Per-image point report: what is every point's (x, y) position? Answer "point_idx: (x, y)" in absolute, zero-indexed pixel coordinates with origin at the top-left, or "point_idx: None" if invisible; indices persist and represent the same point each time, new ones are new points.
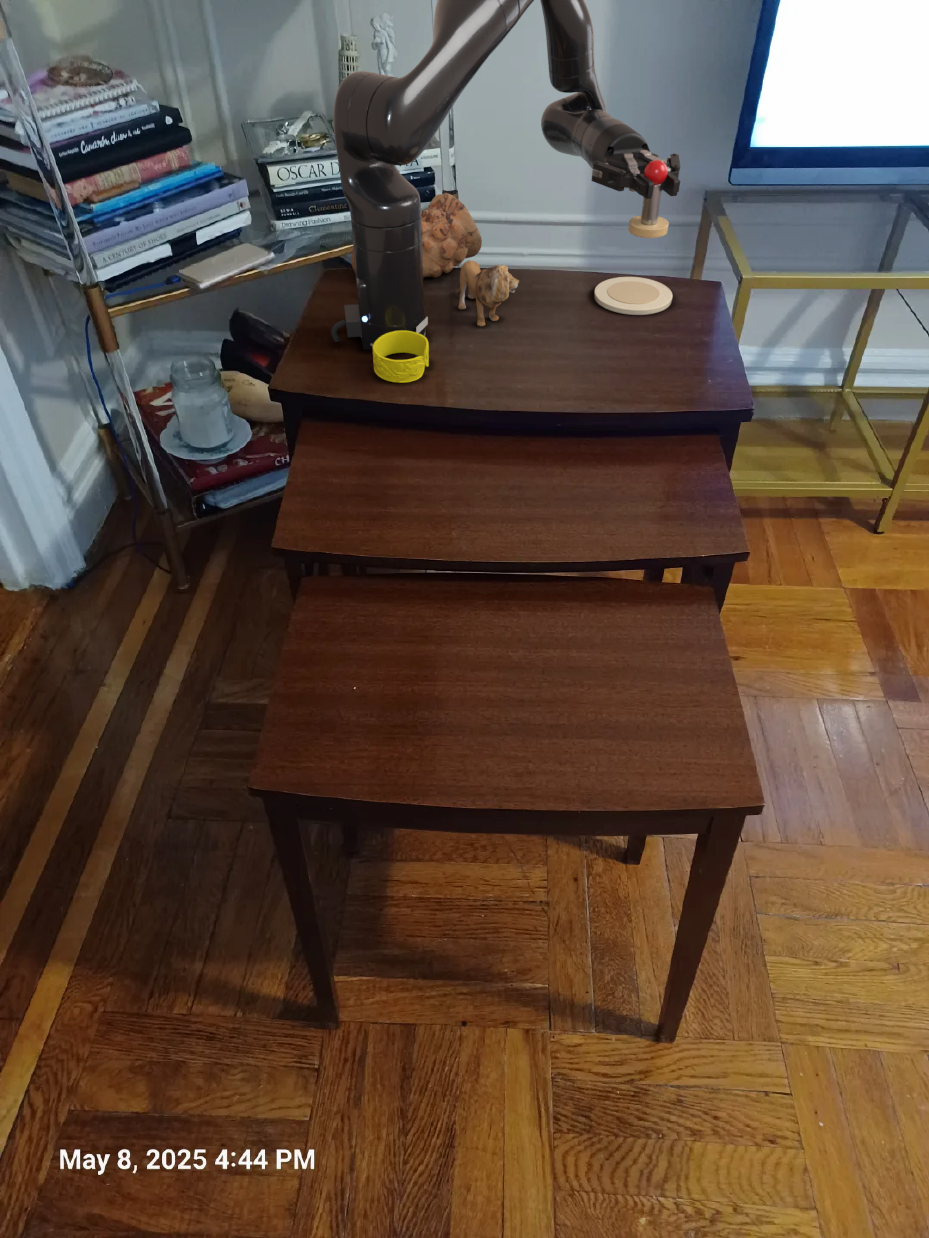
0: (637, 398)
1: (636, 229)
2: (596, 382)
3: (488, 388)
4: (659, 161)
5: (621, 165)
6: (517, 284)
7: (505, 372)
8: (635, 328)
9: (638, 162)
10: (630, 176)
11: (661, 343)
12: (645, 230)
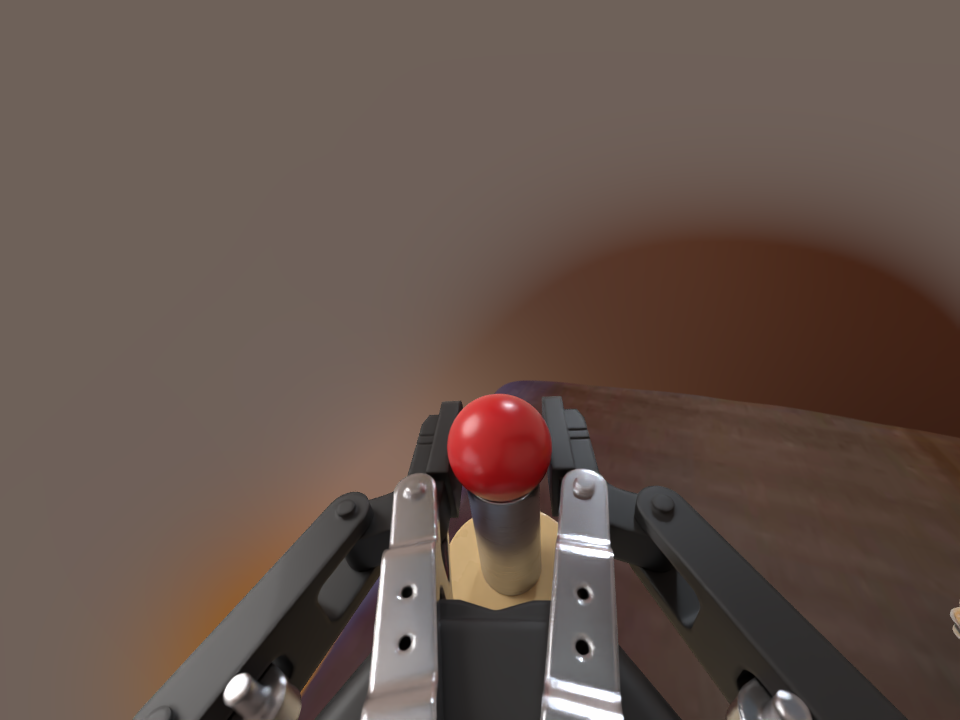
0: (614, 402)
1: None
2: (665, 435)
3: (845, 449)
4: (490, 398)
5: (644, 675)
6: (953, 609)
7: (831, 482)
8: None
9: (506, 653)
10: (611, 491)
11: None
12: (544, 516)
